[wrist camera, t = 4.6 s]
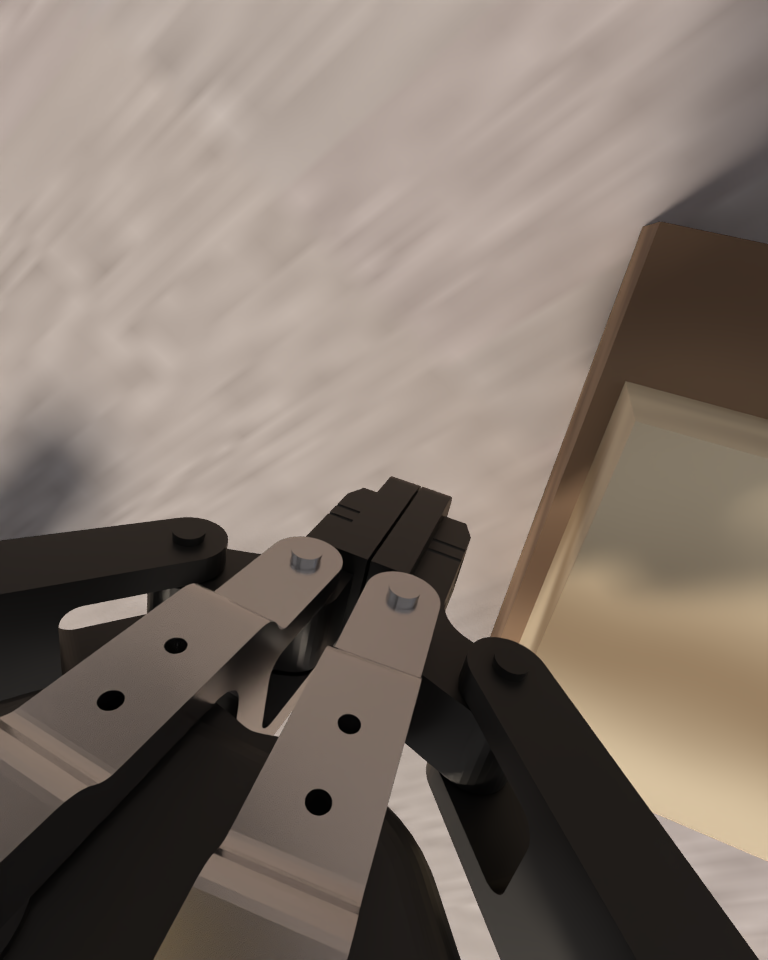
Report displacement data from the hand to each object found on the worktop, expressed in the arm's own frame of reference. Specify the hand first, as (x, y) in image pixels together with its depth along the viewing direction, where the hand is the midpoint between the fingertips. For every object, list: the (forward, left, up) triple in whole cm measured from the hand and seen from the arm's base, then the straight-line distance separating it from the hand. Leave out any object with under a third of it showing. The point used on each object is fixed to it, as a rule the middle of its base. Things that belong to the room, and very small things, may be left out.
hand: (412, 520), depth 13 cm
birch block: (0, +6, 0) cm, 6 cm away
